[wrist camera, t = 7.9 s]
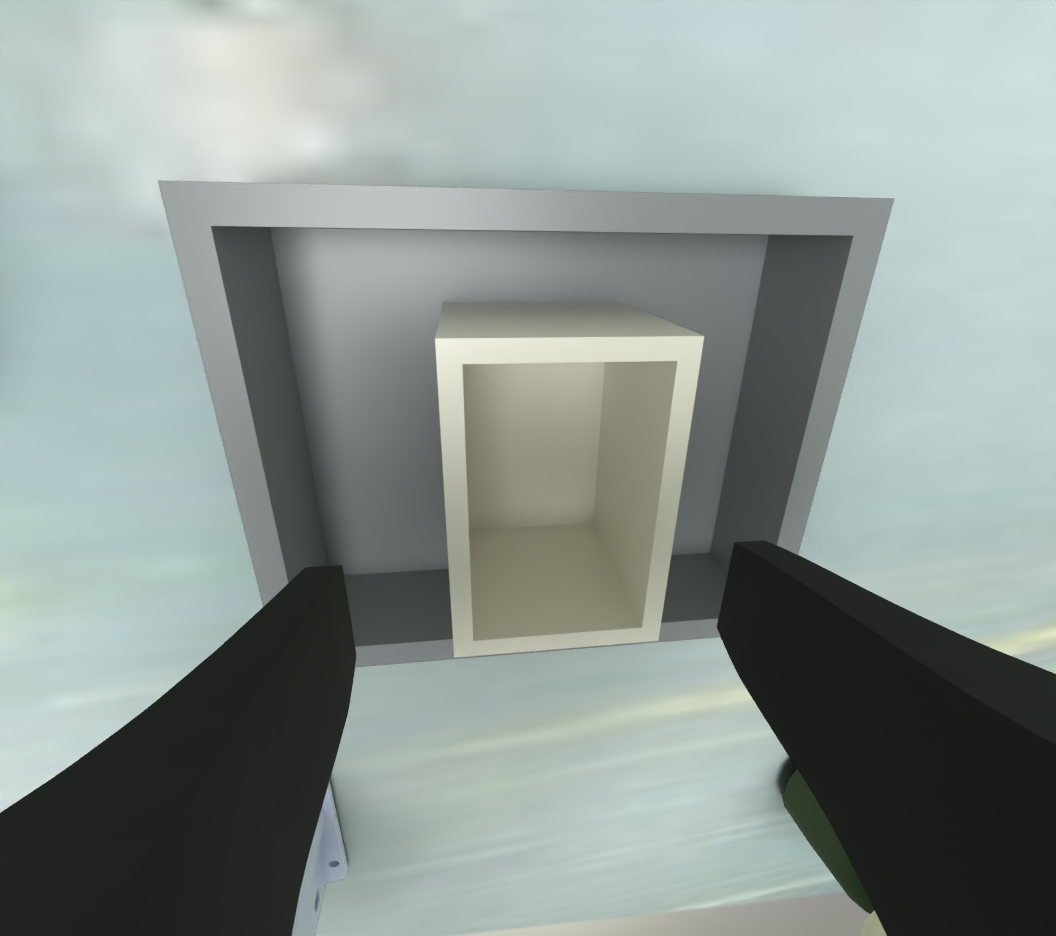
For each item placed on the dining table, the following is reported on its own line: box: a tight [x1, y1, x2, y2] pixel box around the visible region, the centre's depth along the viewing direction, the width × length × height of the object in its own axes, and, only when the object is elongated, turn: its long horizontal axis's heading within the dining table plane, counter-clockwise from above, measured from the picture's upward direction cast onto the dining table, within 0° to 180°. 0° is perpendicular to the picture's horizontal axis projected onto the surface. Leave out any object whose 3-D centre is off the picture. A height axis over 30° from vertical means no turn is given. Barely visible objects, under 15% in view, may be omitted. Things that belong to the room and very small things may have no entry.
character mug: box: [783, 769, 887, 936], centre depth 23 cm, size 11×7×13 cm, turn 100°
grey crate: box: [158, 180, 894, 667], centre depth 16 cm, size 13×16×4 cm
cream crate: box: [435, 302, 704, 658], centre depth 15 cm, size 8×5×6 cm
